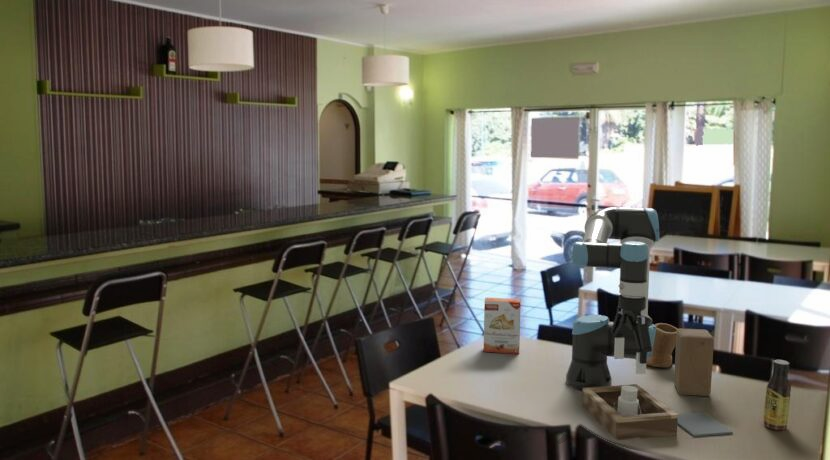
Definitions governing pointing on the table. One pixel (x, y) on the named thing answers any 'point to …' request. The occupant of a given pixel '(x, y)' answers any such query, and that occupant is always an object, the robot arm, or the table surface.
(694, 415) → the rubber mat
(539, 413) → the table surface
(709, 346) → the wooden block
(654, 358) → the tan boot
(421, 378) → the table surface
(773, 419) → the sauce bottle
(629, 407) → the downlight
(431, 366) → the table surface
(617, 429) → the open wooden box
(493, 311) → the cracker box
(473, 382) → the table surface
